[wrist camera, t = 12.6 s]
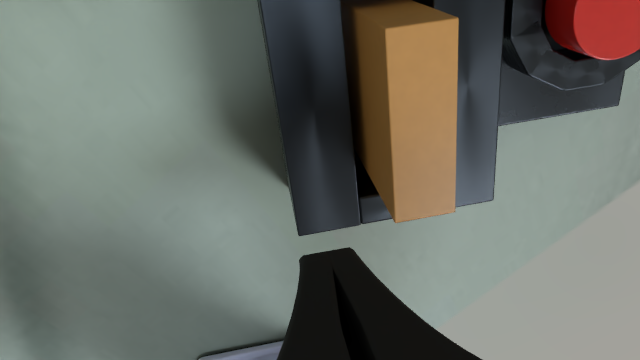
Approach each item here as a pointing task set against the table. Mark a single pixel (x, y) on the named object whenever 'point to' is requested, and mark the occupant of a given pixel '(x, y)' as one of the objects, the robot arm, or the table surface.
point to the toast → (404, 102)
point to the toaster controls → (550, 70)
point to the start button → (595, 26)
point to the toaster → (335, 116)
